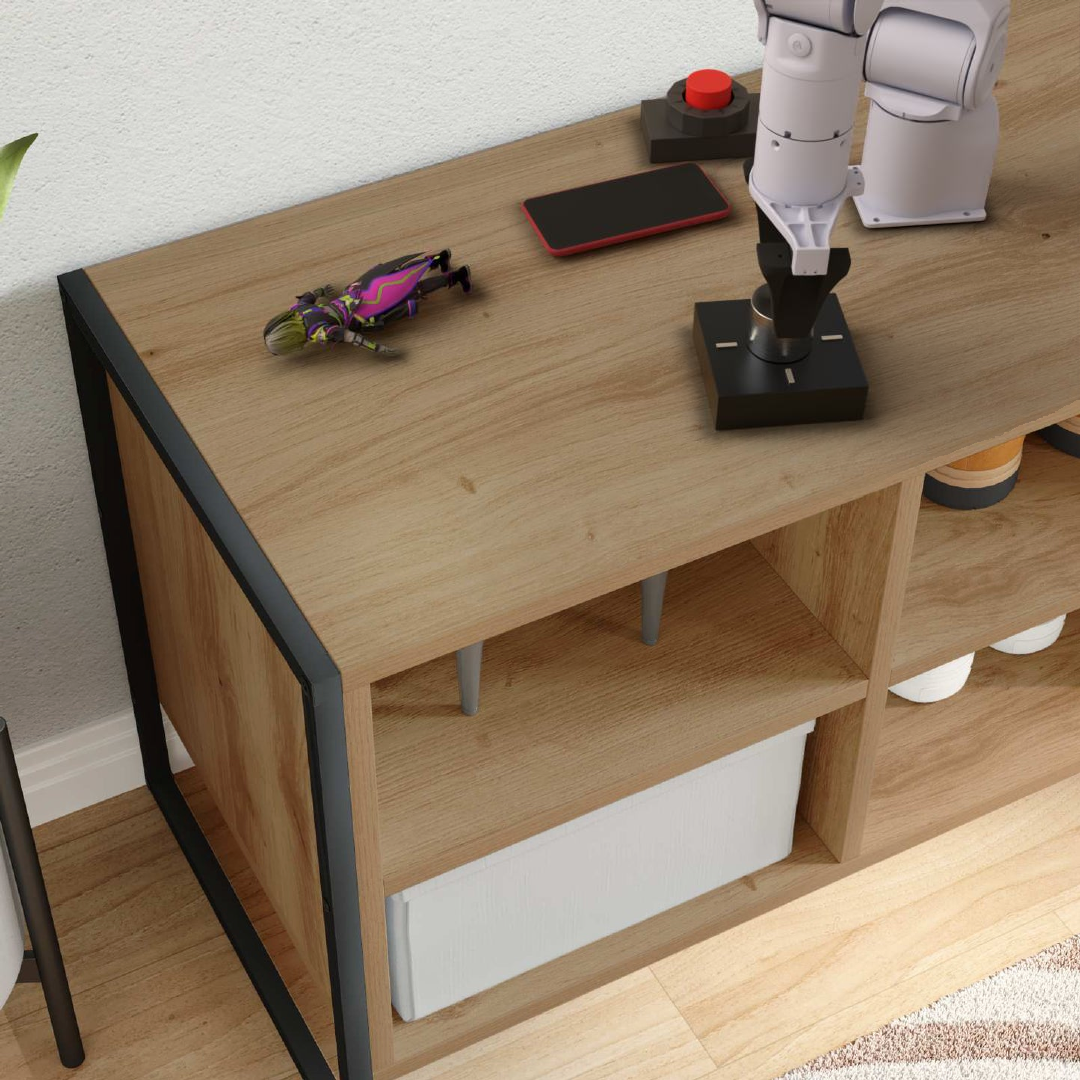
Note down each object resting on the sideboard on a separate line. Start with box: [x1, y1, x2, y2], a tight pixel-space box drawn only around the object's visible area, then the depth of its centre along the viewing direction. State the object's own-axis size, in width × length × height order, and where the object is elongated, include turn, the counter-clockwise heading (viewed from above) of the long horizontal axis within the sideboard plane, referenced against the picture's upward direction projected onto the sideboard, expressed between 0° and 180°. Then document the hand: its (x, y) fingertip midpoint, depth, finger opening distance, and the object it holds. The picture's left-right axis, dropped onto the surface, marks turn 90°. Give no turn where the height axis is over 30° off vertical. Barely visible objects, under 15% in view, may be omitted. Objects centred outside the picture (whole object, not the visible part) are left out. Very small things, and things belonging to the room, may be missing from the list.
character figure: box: [262, 247, 474, 356], centre depth 112 cm, size 9×4×16 cm
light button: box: [686, 68, 732, 110], centre depth 126 cm, size 4×4×2 cm
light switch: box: [639, 76, 761, 164], centre depth 128 cm, size 10×6×4 cm, turn 95°
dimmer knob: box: [747, 282, 815, 363], centre depth 105 cm, size 4×4×4 cm
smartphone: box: [521, 161, 732, 258], centre depth 122 cm, size 7×1×15 cm
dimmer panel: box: [692, 292, 870, 431], centre depth 108 cm, size 10×10×3 cm
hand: (784, 298), depth 104 cm, fingers open, 7 cm apart
